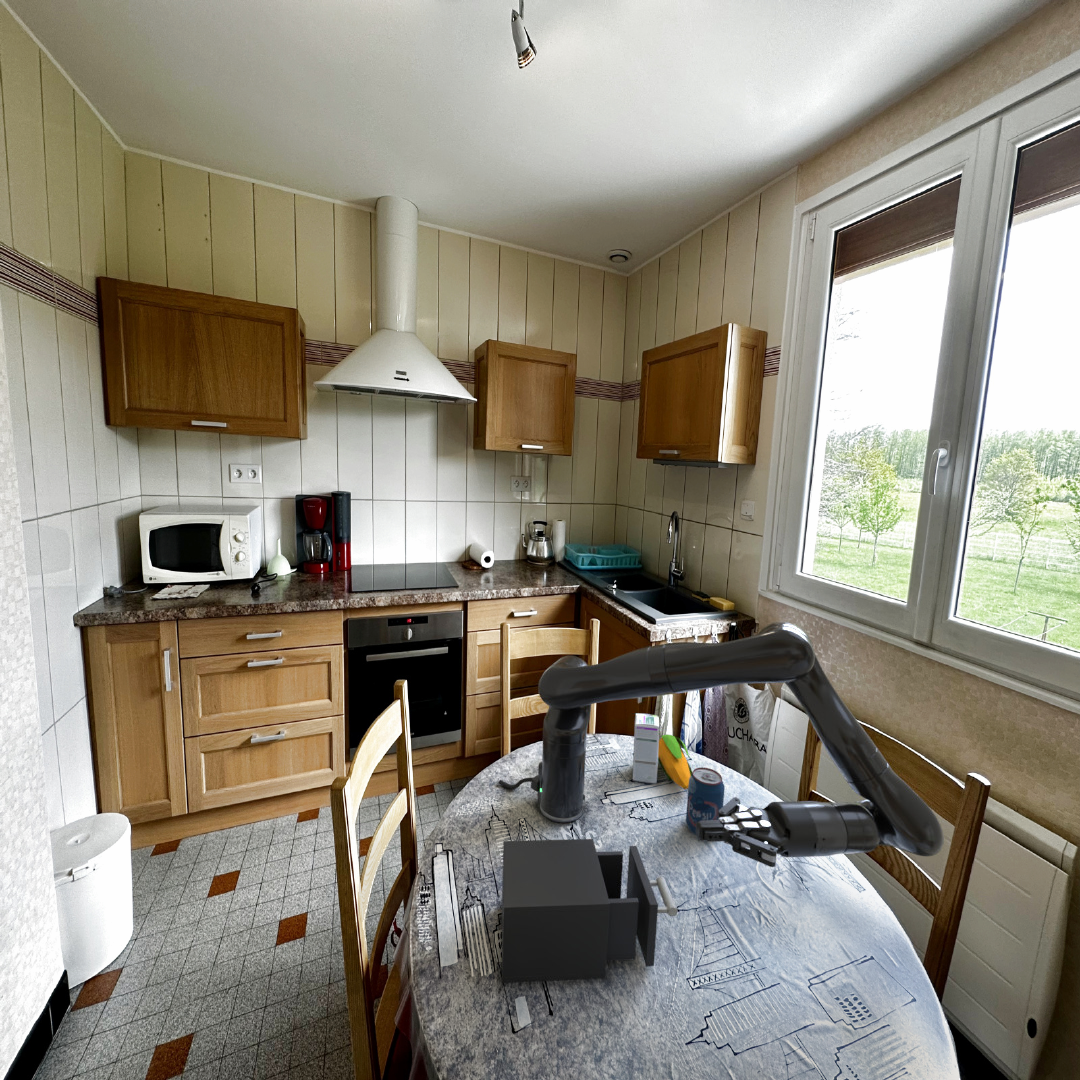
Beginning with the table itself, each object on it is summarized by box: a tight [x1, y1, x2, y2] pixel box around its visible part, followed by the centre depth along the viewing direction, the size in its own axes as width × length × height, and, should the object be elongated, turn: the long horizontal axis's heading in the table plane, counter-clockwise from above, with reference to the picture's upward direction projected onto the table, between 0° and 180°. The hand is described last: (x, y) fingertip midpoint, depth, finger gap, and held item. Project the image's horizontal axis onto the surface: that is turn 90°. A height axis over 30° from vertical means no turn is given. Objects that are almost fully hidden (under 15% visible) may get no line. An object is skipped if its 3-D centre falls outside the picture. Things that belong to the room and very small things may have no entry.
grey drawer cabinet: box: [501, 838, 610, 984], centre depth 77 cm, size 15×13×12 cm
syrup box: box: [632, 712, 660, 785], centre depth 121 cm, size 6×6×14 cm
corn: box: [658, 733, 693, 790], centre depth 122 cm, size 7×8×20 cm
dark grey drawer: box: [596, 845, 679, 967], centre depth 78 cm, size 18×12×10 cm, turn 94°
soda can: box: [685, 766, 726, 838], centre depth 103 cm, size 7×7×12 cm
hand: (697, 831), depth 77 cm, fingers closed
